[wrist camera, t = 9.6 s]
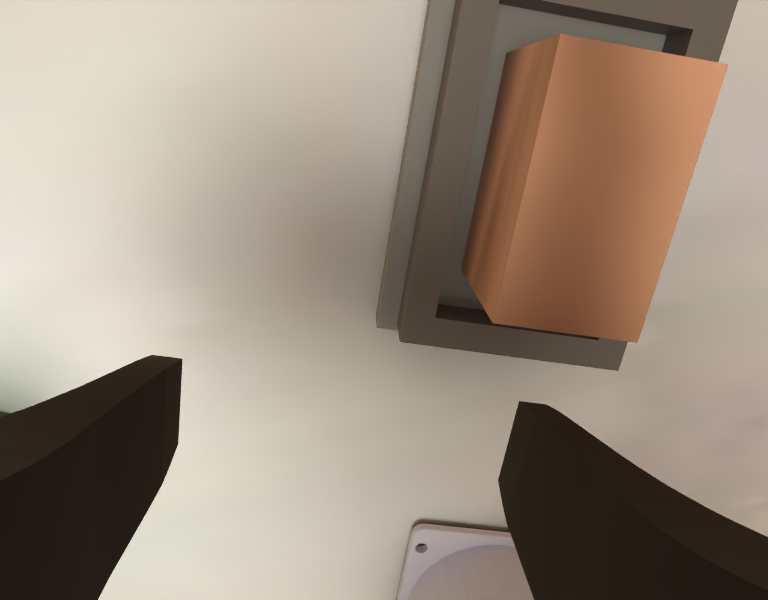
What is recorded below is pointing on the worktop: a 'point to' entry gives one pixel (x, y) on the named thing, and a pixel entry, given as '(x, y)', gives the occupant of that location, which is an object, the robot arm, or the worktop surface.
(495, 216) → the terracotta bar
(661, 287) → the worktop surface
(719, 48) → the nest plate
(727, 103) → the worktop surface
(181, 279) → the worktop surface
